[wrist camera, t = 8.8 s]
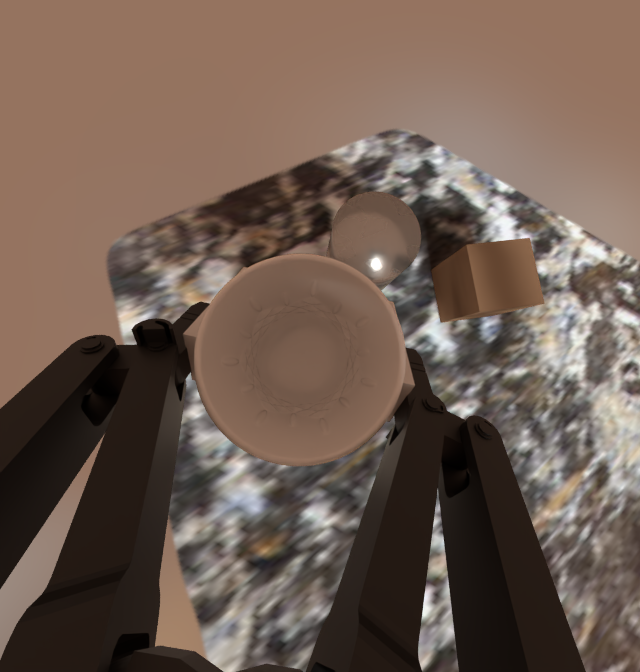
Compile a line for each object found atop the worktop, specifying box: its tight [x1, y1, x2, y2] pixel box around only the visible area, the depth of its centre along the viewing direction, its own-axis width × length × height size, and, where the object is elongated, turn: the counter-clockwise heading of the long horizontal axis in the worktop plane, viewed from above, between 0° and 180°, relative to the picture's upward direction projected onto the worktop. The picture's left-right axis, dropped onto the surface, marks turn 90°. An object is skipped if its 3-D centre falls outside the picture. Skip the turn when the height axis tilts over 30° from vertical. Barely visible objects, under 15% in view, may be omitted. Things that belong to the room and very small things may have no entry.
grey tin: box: [326, 192, 421, 290], centre depth 19 cm, size 6×6×6 cm
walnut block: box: [431, 238, 544, 323], centre depth 20 cm, size 5×5×5 cm
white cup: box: [194, 254, 406, 466], centre depth 14 cm, size 8×8×10 cm
